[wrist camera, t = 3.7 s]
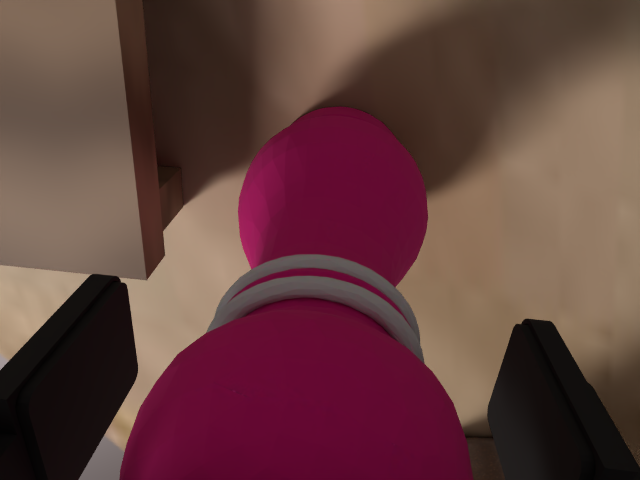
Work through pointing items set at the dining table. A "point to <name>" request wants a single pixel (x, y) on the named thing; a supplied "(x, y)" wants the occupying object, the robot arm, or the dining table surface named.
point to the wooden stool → (80, 140)
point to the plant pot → (484, 459)
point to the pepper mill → (311, 329)
